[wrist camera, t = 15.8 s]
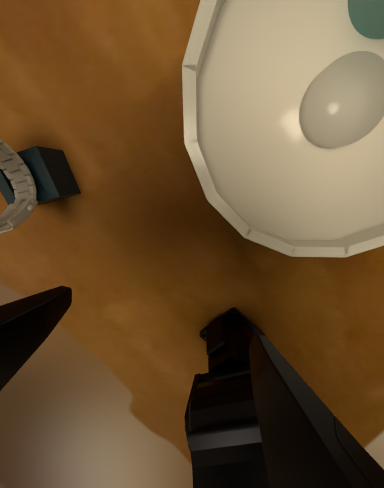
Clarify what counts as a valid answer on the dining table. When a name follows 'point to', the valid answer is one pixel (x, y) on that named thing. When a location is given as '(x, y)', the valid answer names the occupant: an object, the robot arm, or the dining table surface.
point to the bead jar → (367, 17)
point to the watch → (32, 181)
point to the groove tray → (288, 123)
